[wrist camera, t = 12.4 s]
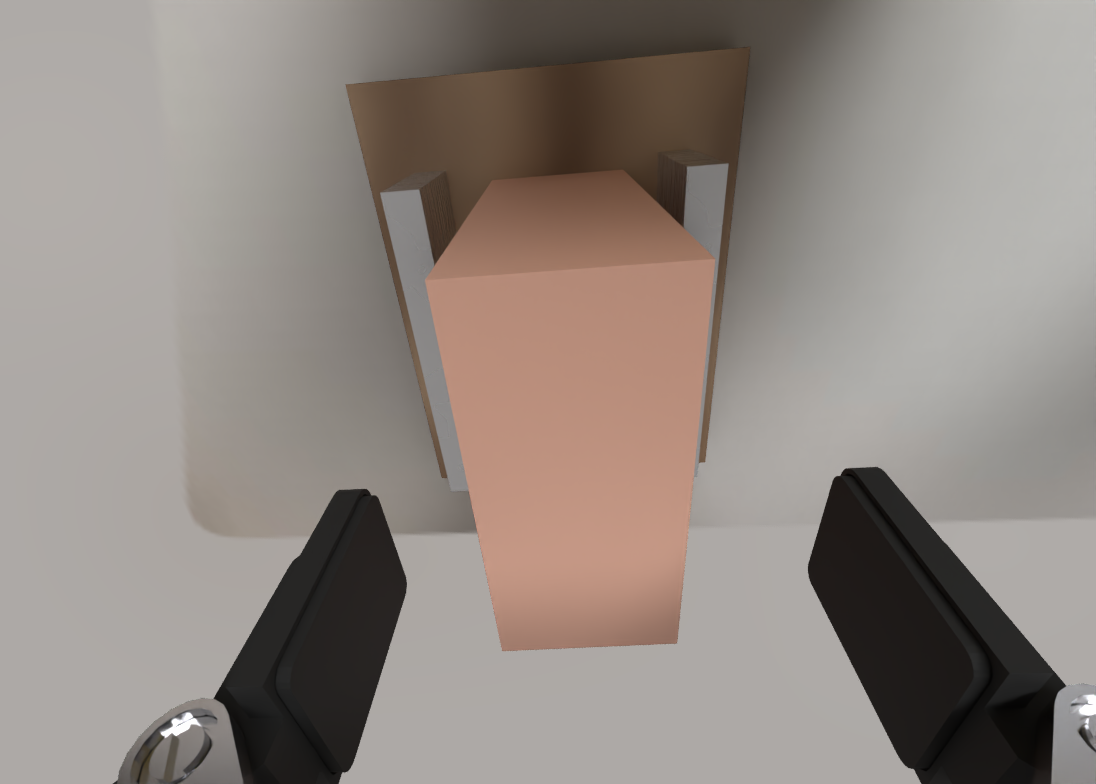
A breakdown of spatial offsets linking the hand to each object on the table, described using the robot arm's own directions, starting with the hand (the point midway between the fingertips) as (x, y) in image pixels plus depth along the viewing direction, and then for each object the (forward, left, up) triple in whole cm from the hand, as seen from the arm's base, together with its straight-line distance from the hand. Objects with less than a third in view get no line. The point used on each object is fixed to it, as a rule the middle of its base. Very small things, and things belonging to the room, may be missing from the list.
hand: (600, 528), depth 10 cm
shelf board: (+1, 0, -14) cm, 14 cm away
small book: (0, 0, -13) cm, 13 cm away
